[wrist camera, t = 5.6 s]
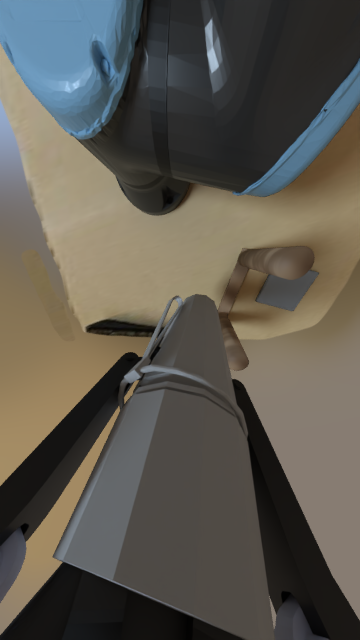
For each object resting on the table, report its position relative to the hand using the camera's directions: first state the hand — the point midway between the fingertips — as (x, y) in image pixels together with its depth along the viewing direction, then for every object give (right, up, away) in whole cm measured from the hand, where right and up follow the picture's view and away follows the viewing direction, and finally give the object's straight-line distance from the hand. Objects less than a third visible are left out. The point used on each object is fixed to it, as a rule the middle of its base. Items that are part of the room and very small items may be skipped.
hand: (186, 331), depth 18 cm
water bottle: (+2, +4, +9) cm, 10 cm away
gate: (+13, +9, +18) cm, 24 cm away
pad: (+25, +10, +16) cm, 32 cm away
